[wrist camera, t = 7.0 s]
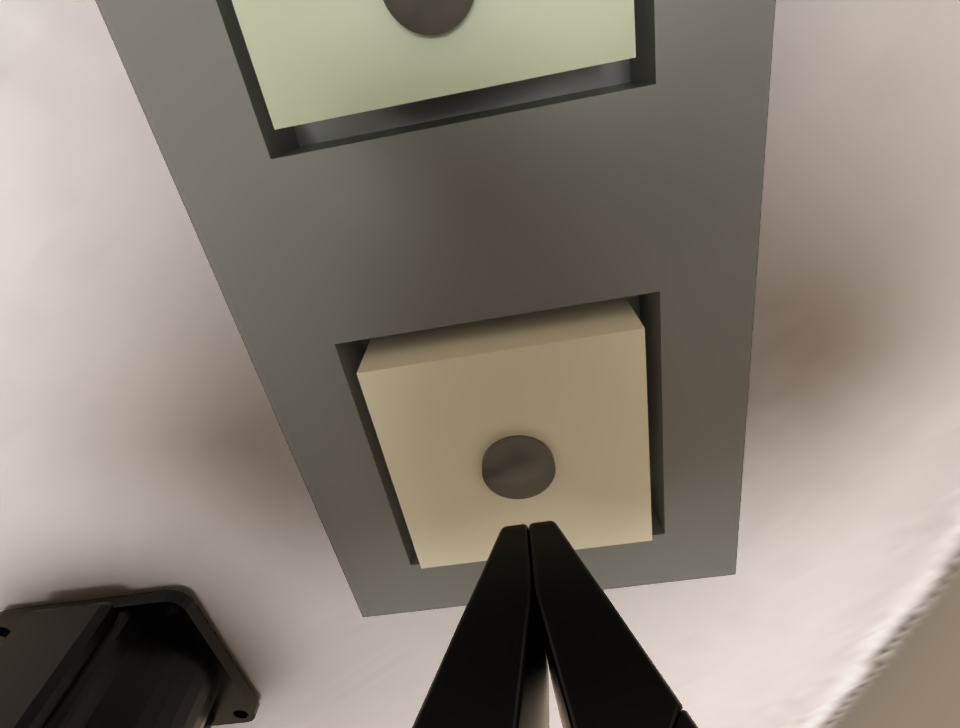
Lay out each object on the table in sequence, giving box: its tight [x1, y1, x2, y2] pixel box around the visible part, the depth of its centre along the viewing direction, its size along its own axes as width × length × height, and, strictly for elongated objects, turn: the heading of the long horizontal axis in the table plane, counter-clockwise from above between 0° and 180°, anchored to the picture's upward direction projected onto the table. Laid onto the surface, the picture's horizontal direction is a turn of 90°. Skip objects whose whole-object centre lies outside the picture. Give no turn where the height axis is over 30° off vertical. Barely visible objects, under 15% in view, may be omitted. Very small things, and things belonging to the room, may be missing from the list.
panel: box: [95, 0, 776, 617], centre depth 10 cm, size 18×9×2 cm, turn 10°
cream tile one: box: [356, 297, 652, 569], centre depth 11 cm, size 5×5×2 cm
